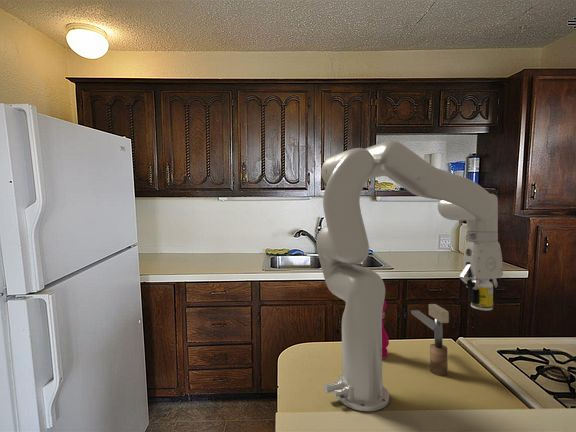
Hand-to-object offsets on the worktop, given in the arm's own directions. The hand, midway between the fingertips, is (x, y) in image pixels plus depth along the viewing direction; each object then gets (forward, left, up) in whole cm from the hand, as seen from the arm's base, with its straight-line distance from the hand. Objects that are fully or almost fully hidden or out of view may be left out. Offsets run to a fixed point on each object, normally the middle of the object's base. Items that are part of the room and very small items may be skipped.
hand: (481, 300), depth 90 cm
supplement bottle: (0, 0, -2) cm, 2 cm away
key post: (-13, +2, -19) cm, 23 cm away
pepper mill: (-23, +17, -19) cm, 35 cm away
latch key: (-12, +8, -12) cm, 18 cm away
